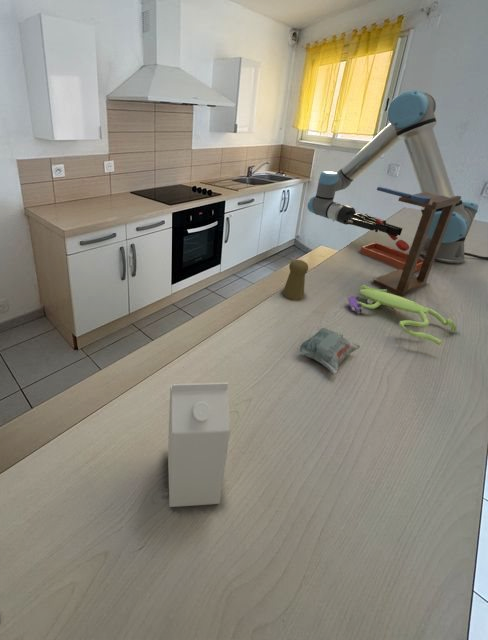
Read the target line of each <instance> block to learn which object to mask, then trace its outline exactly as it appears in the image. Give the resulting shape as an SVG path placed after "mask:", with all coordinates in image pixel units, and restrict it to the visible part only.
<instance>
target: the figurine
mask: <svg viewBox="0 0 488 640" xmlns="http://www.w3.org/2000/svg"><path fill="white" fill-rule="evenodd" d="M360 287H361V289H359V290H358V292H359V294H361V295H362V296H363V297H365V298H367V301H366V302H367V303H364V302H362V301H360V300H361V298H360V297H359V296H349V297H347V299H348V303H349V306H350V310H351V311H352V312H355V313H356V314H361V313H362V312H363V311H362V309H361V308H362V307H364V308H366V309H370V310H374V309H377V308H379V307H380V306H381V305H383V306H387V307H389V308H390V309H391V310H392V311H393V312H394V313H395V314H396V315H399V313H398V311H397V310H400V311H403V312H408V313H414V314H418V315H419V317H420V318H421V320H422V322H421V321H416V320H410V319H409V320H408V319H407V320H400V321H399V324H398V325H399V327H400V328H401V329H402V330H403V331H404V332H406V333H407V334H408V335H409V336H411V337H416V338H420V339H426V340H429V341H431V342H433V343H435V344H437V345H438V346H441V345H442V343H443V341H442V340H441V339H439V338H438V337H436V336H434V335H433V334H429V333H426V332H421V331H420V332H419V331H413V330H409V329H408V328H406V327H405V326H413V327H414V326H415V327H419V328H425V327H428V326H429V325H430V321H429V318H428V316H427V314H430V315H432V316H433V317H434V318H436V320H438V321H439V322H440V323H441V324H442V325H443V326H449V327H450V333H454V332H456V330H457V326H456V324H455V323H454V321H453V319H451V318H446V319H445V318H444V317H443V316H442V315H440V314H439V313H438V312H436V311H435V310H433V309H431V308H430V307H426V306H423V305H422V304H419V303H417V302H416V301H413V300H410V299H407V298H405V297H403V296H402V297H401V296H399V295H396V294H394V293H391V292H388V290H387V289H384V288H382V289H380V288H375V287H371V286H368V285H365V284H363V285H361V286H360Z"/></svg>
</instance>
